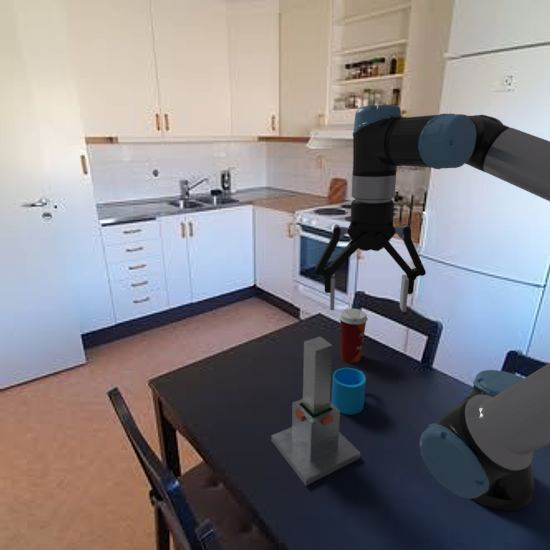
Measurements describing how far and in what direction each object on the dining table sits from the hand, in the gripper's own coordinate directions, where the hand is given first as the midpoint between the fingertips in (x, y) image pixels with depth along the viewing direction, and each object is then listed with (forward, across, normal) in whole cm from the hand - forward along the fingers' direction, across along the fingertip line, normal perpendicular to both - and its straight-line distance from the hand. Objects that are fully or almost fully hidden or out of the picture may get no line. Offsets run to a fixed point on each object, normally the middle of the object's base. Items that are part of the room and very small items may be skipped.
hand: (367, 308), depth 78 cm
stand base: (+33, +10, +2) cm, 35 cm away
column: (+26, +10, +2) cm, 27 cm away
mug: (+33, +1, -16) cm, 37 cm away
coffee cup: (+33, 0, -36) cm, 49 cm away
